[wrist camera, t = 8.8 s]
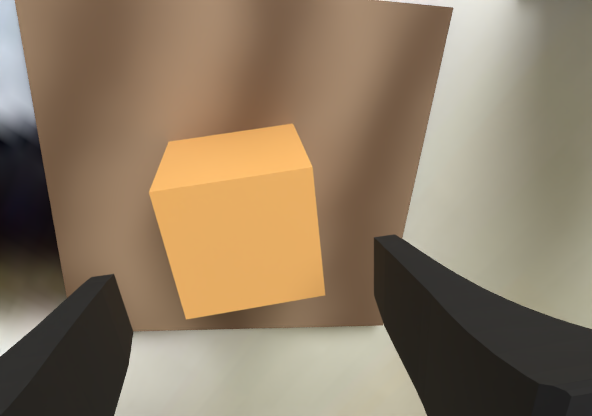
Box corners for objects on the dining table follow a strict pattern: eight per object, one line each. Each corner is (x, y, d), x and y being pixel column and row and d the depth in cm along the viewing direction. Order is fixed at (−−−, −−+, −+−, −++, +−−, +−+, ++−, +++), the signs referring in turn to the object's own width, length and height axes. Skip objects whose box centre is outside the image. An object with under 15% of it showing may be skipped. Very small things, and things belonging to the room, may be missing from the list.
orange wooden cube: (293, 123, 19) (312, 167, 14) (305, 229, 21) (325, 295, 17) (168, 141, 18) (148, 192, 14) (195, 247, 21) (185, 319, 16)
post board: (442, 6, 18) (503, 12, 14) (377, 313, 25) (405, 376, 21) (21, -34, 16) (-53, -41, 12) (79, 319, 23) (46, 391, 19)
